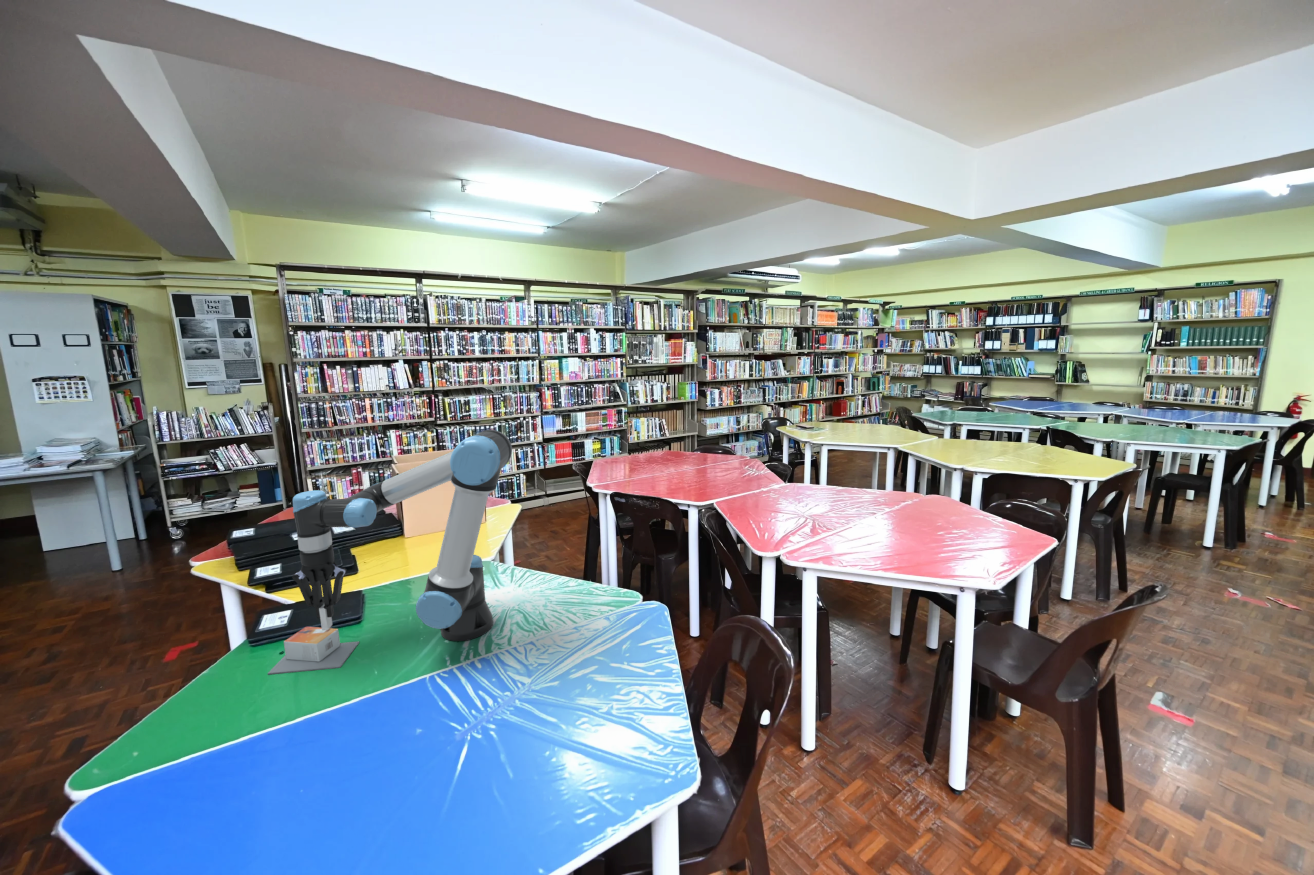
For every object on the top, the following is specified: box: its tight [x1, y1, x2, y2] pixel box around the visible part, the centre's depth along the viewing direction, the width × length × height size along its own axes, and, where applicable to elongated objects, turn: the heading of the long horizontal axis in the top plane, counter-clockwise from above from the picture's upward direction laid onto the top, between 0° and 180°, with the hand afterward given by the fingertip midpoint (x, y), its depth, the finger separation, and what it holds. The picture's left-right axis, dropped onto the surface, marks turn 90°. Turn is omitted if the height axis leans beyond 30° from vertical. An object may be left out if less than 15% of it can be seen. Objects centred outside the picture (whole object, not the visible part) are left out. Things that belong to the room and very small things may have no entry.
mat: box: [267, 640, 360, 676], centre depth 141 cm, size 18×12×1 cm, turn 98°
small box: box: [283, 626, 341, 662], centre depth 142 cm, size 8×6×10 cm
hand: (327, 627), depth 140 cm, fingers closed
